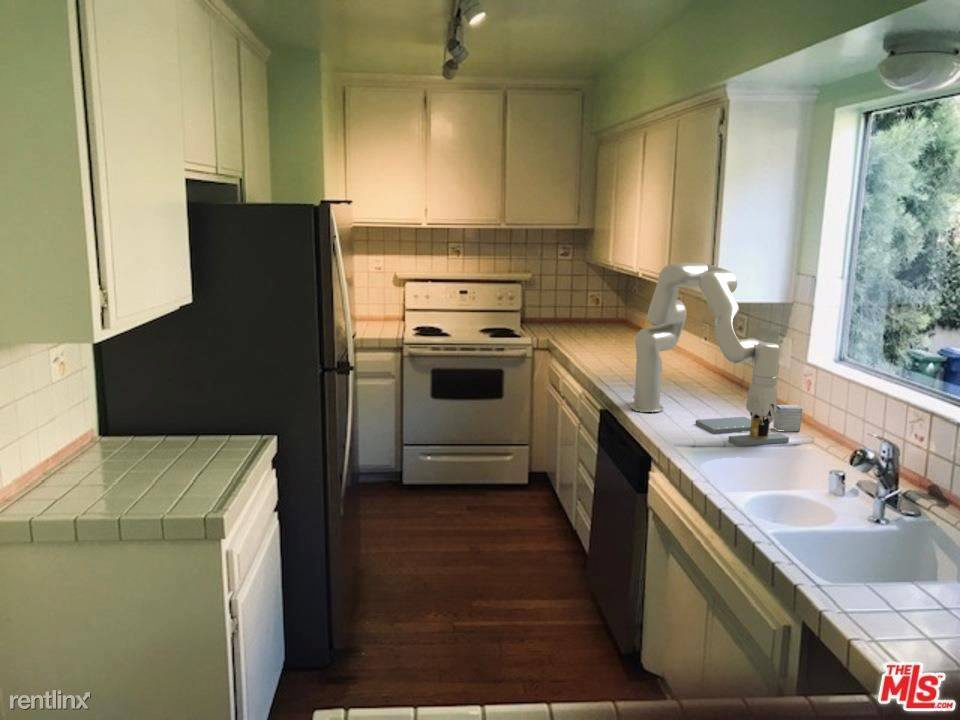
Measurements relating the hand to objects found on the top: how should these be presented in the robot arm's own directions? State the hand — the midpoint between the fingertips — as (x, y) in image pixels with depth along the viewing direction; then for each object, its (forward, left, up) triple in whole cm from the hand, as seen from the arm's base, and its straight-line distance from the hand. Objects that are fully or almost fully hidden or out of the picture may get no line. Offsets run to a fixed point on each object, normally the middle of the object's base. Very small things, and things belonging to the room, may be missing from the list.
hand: (759, 433), depth 245 cm
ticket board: (-17, 0, -3) cm, 17 cm away
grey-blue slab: (0, 0, -3) cm, 3 cm away
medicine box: (-10, +18, -3) cm, 21 cm away
